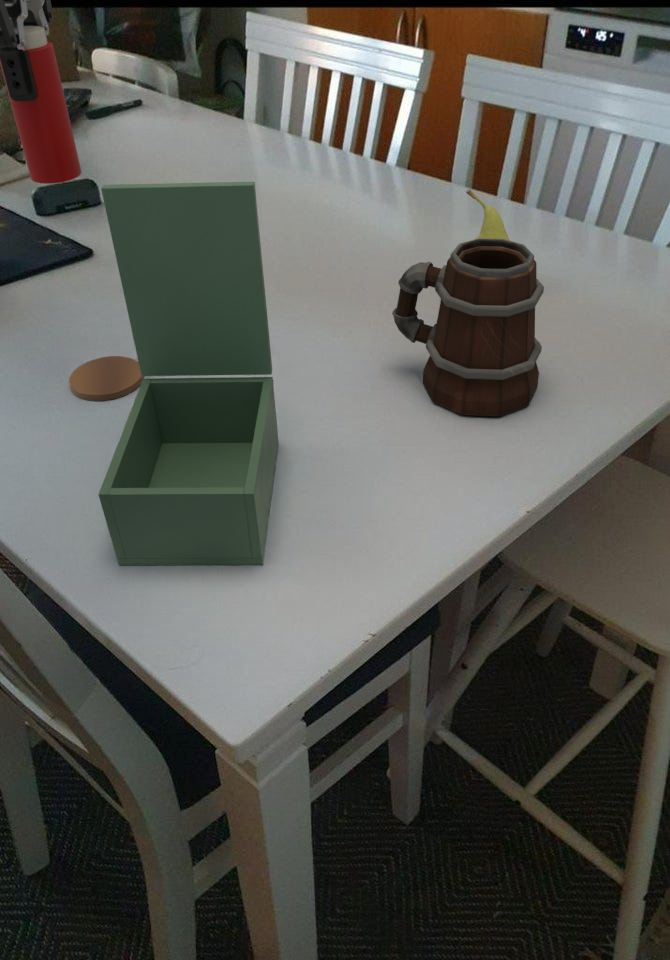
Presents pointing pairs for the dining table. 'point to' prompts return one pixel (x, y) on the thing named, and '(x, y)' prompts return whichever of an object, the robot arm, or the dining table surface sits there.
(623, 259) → the dining table surface
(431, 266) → the mug
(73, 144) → the sauce bottle
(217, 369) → the chest lid
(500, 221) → the fruit
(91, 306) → the dining table surface
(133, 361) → the disc
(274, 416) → the chest
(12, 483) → the dining table surface
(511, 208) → the dining table surface
